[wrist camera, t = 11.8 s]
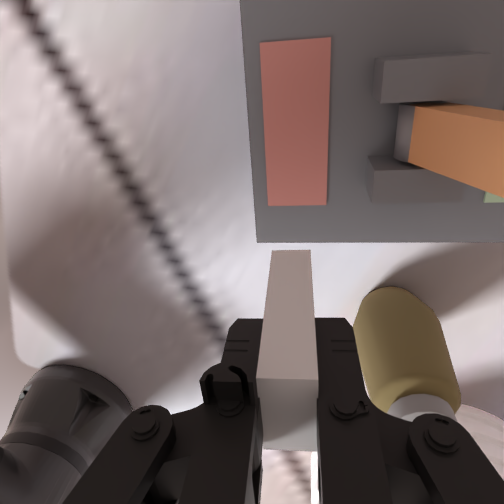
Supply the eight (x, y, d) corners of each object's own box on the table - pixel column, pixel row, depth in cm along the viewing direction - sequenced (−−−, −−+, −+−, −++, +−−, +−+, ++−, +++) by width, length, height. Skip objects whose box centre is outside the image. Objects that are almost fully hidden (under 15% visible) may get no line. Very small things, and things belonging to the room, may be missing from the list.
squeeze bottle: (419, 265, 36) (501, 436, 21) (437, 327, 40) (521, 515, 24) (337, 289, 39) (356, 456, 23) (361, 345, 42) (392, 526, 26)
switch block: (266, 202, 35) (251, 263, 26) (256, -5, 27) (228, -28, 18) (500, 198, 32) (581, 265, 23) (562, -35, 24) (724, -81, 15)
